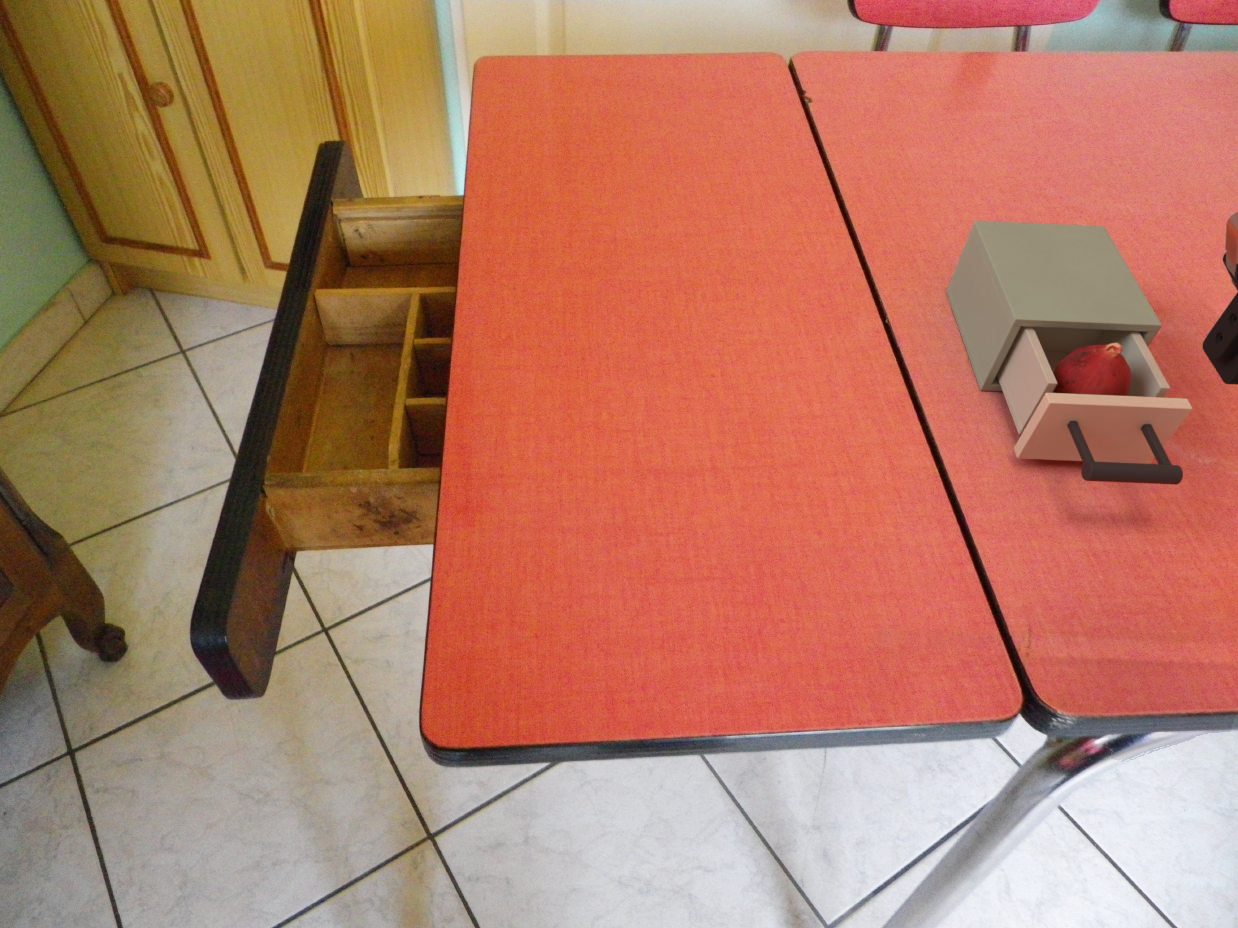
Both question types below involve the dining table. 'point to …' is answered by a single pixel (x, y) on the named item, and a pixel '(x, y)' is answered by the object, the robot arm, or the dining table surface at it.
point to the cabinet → (1040, 288)
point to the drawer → (1092, 408)
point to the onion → (1094, 371)
